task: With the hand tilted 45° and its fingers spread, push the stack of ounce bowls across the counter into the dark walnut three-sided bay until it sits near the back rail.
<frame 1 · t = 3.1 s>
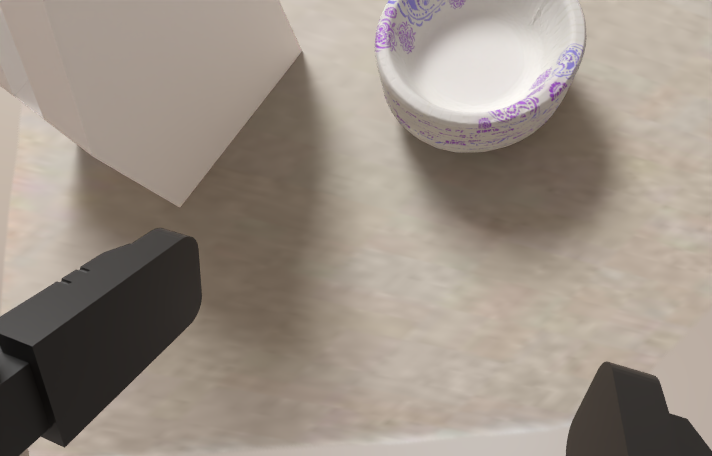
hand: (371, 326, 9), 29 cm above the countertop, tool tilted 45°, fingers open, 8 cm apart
paper bowls: (471, 90, 42), on the countertop
white house shaped block: (189, 93, 48), on the countertop
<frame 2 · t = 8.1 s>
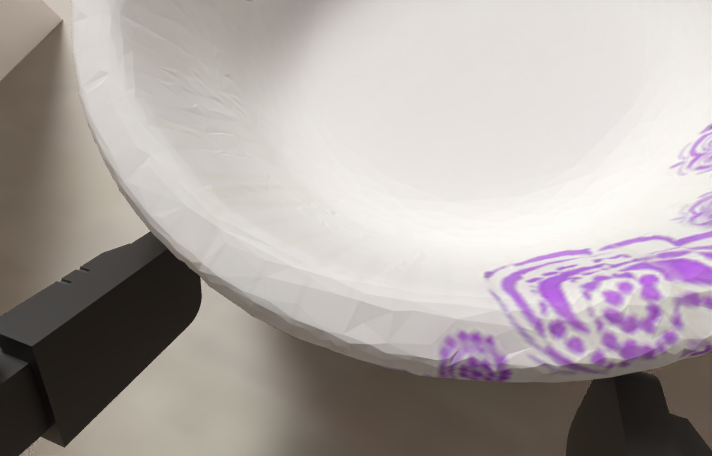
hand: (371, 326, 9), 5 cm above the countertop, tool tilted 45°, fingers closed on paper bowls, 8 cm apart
paper bowls: (458, 131, 15), on the countertop, touching gripper
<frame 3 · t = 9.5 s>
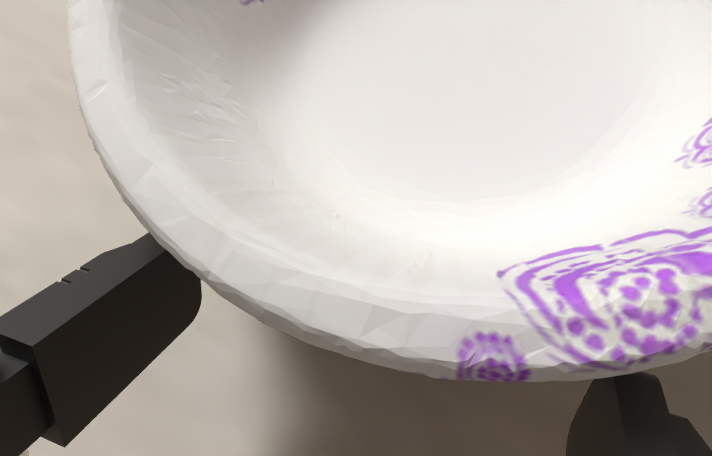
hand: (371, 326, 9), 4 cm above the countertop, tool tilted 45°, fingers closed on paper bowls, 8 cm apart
paper bowls: (456, 131, 15), on the countertop, touching gripper
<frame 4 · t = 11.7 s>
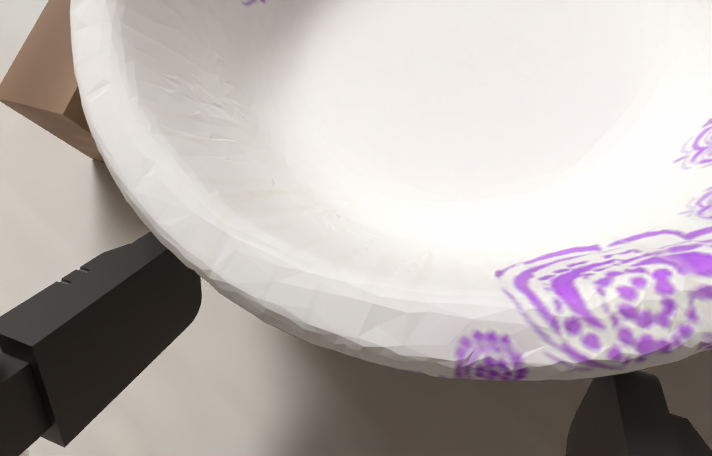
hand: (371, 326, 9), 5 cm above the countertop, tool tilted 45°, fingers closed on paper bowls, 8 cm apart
paper bowls: (457, 131, 15), on the countertop, touching gripper
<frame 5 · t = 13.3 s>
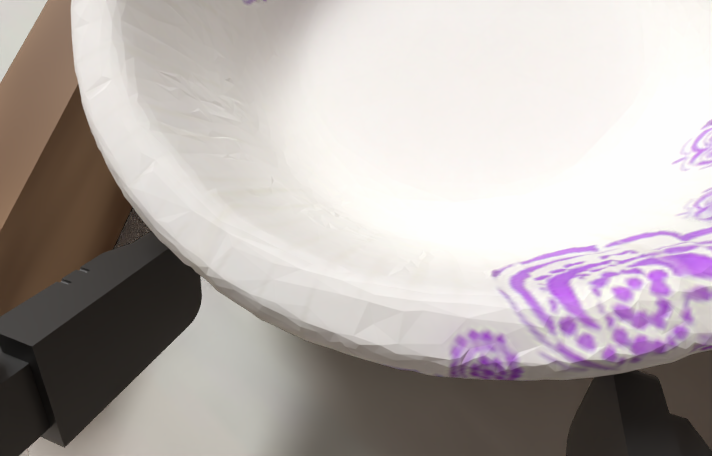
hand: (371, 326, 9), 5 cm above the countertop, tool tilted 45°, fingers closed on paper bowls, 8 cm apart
paper bowls: (457, 131, 15), on the countertop, touching gripper
walnut bay: (457, 140, 15), on the countertop
when the fingers open (5 cm above the countertop, at t = 14.0 s): paper bowls stays where it is, on the countertop.
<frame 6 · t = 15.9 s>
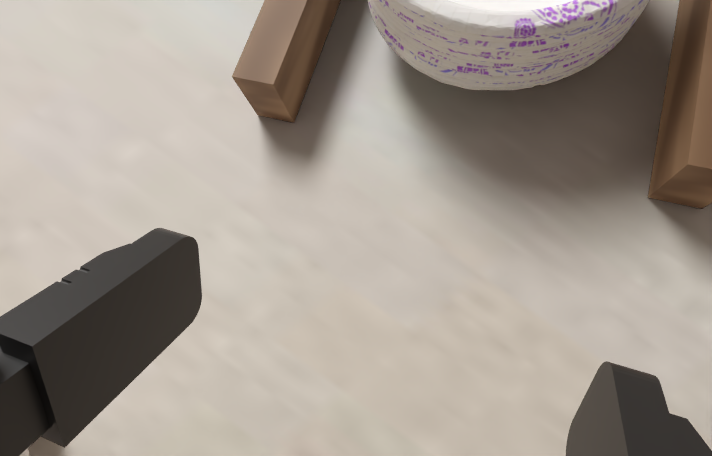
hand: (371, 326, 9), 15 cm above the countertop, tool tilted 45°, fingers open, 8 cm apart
paper bowls: (494, 15, 29), on the countertop
walnut bay: (493, 19, 29), on the countertop
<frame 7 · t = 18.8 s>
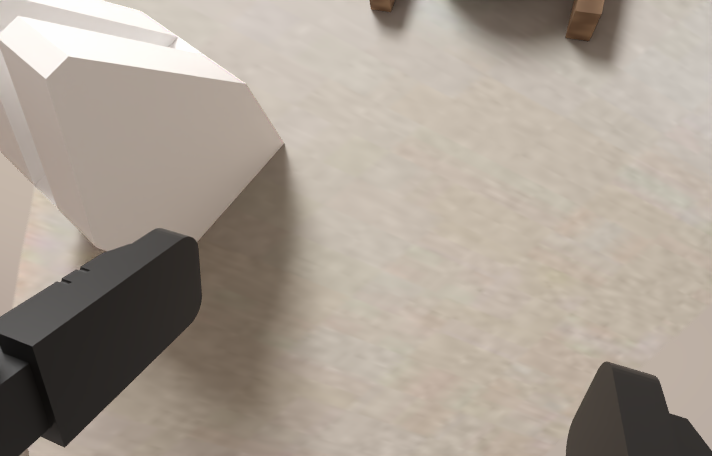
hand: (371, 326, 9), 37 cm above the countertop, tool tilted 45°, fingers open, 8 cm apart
white house shaped block: (184, 171, 55), on the countertop
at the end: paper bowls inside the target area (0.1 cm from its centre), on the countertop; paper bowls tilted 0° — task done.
